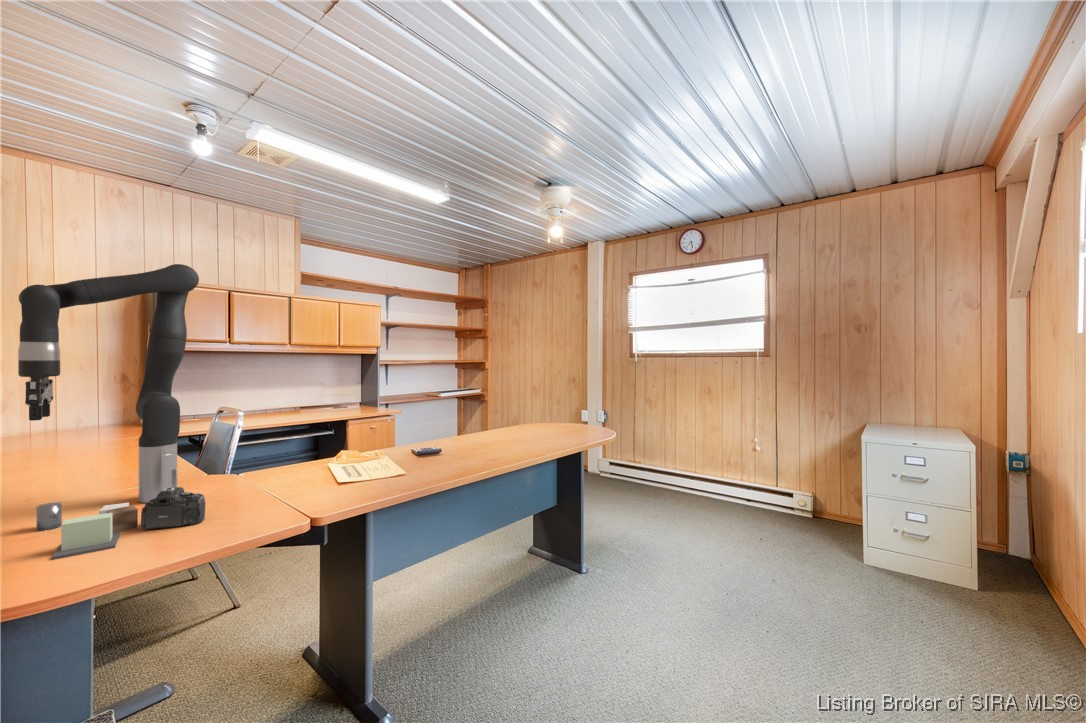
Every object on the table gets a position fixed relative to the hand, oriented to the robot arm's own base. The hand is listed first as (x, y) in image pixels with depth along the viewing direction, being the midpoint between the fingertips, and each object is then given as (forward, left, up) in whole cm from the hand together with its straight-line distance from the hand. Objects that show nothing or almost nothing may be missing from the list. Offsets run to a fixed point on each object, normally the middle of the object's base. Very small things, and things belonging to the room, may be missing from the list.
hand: (40, 418), depth 120 cm
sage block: (-13, +30, -28) cm, 43 cm away
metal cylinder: (-3, +8, -28) cm, 29 cm away
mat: (-13, +30, -28) cm, 43 cm away
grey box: (-16, +11, -28) cm, 34 cm away
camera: (-28, +24, -28) cm, 47 cm away
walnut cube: (-18, +20, -28) cm, 39 cm away
